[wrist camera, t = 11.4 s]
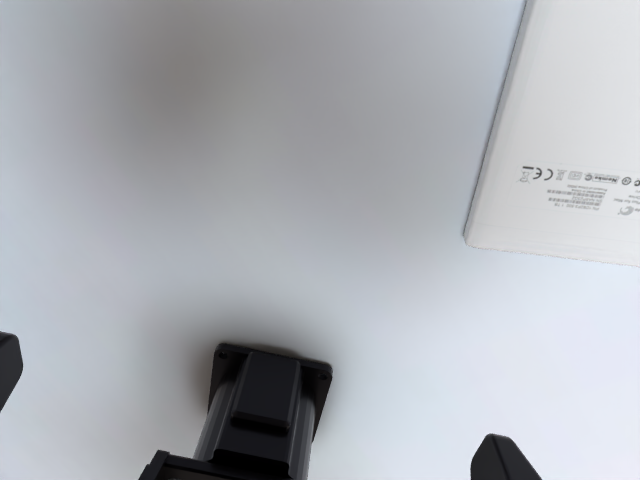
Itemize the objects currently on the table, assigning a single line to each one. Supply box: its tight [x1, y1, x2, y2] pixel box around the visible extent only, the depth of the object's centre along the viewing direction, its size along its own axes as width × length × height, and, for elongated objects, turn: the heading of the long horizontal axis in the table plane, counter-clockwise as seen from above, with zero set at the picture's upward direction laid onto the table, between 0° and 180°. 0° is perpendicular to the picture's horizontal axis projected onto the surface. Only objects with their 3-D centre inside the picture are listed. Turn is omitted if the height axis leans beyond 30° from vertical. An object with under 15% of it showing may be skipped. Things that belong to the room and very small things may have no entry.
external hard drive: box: [463, 0, 640, 267], centre depth 18 cm, size 2×8×12 cm
